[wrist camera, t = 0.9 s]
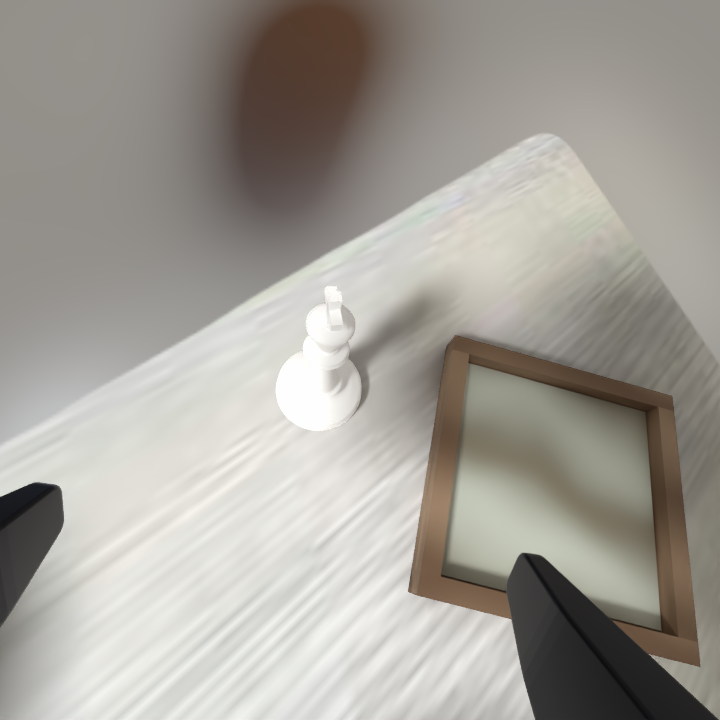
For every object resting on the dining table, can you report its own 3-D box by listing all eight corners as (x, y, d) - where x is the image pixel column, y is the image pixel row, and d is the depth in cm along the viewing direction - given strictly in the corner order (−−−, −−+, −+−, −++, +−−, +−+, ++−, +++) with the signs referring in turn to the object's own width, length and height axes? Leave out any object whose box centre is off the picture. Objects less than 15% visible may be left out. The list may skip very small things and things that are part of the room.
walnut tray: (672, 658, 21) (700, 666, 20) (407, 591, 20) (416, 595, 19) (651, 403, 27) (672, 396, 26) (446, 346, 26) (455, 335, 25)
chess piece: (353, 346, 25) (387, 238, 16) (368, 424, 24) (415, 351, 15) (272, 354, 24) (260, 244, 15) (280, 436, 23) (272, 365, 14)
